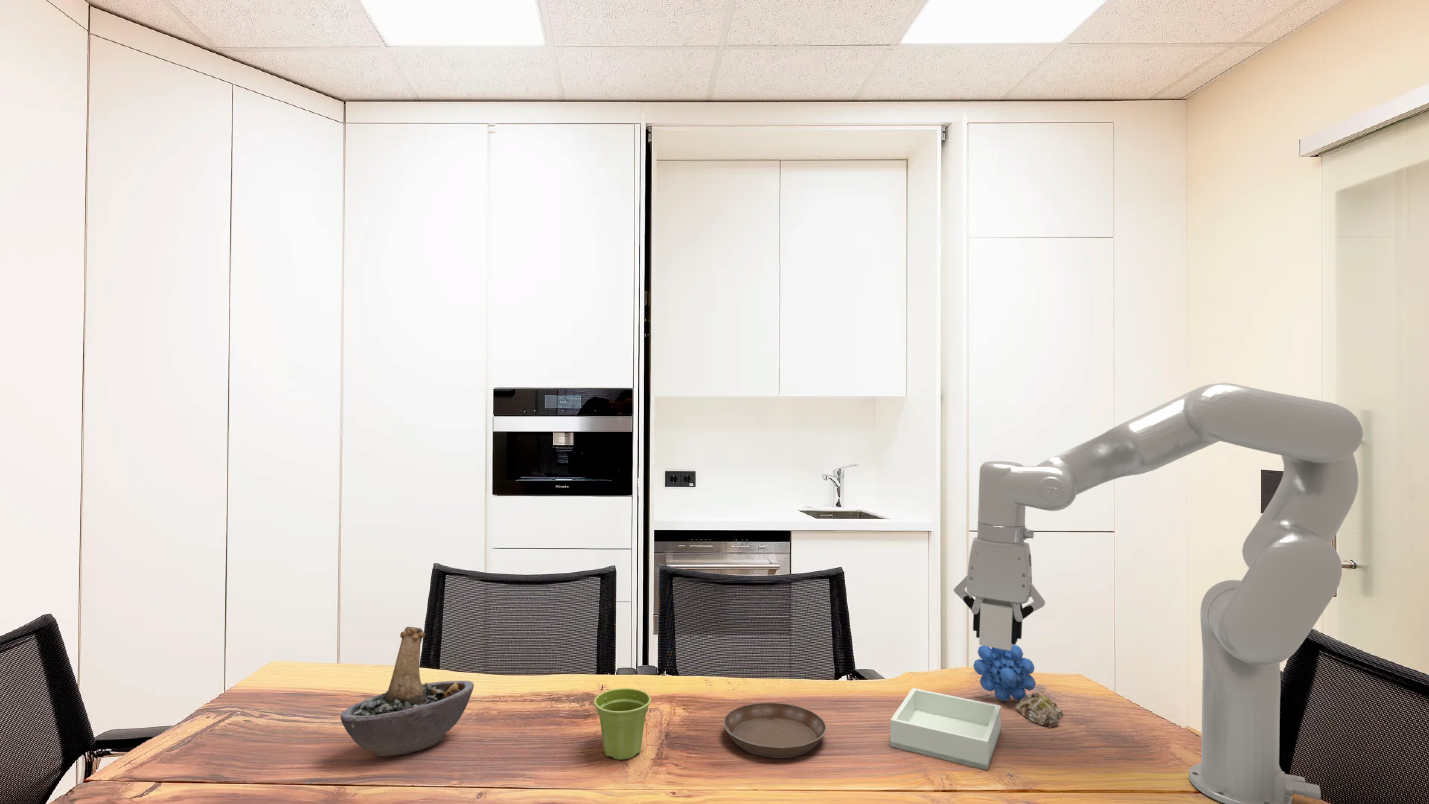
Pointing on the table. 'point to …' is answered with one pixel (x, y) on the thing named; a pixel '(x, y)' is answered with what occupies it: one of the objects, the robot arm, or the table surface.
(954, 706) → the sage bin
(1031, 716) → the mineral rock
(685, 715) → the table surface
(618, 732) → the plant pot
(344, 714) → the planter
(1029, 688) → the blue knobby lump
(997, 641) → the stone block
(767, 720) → the plant saucer
